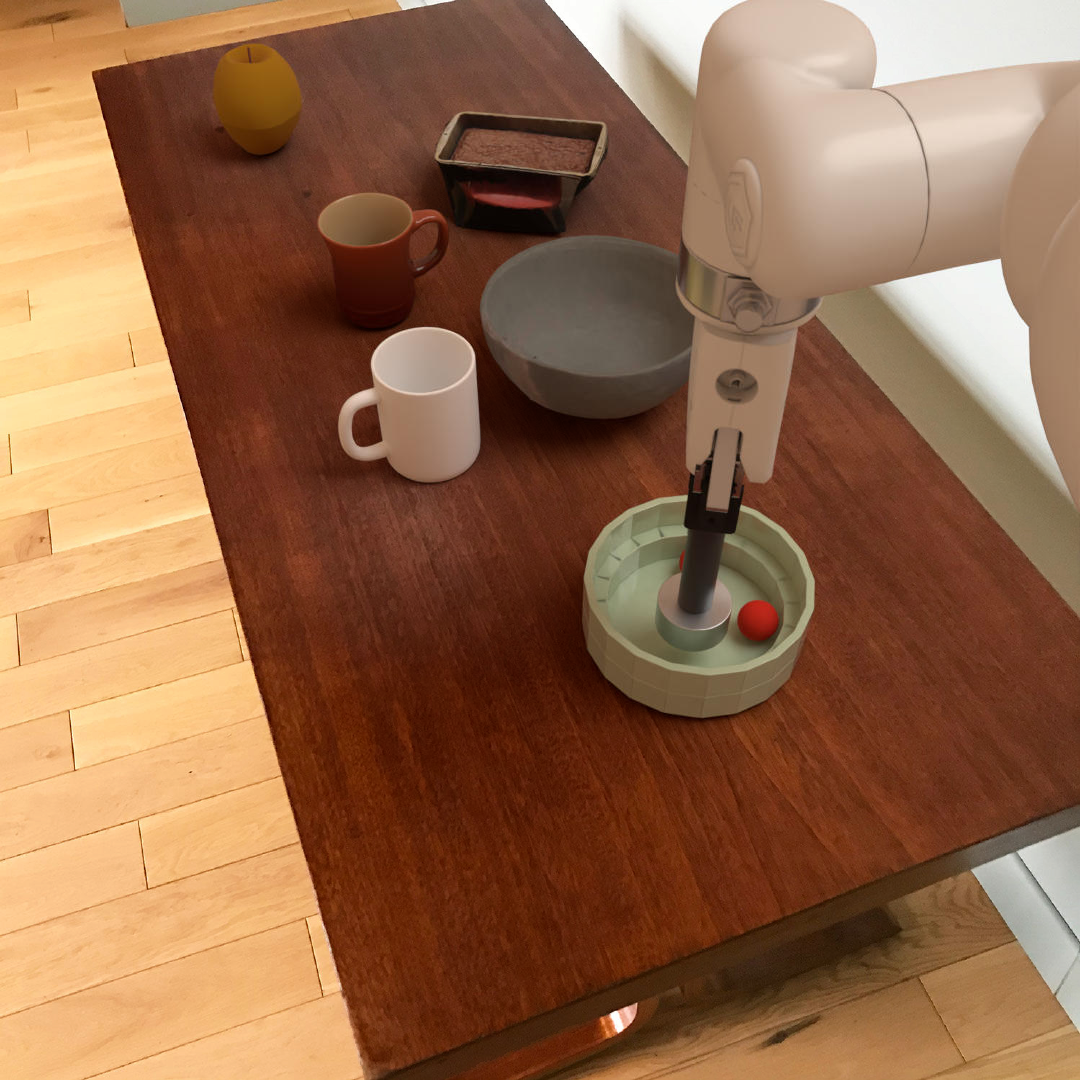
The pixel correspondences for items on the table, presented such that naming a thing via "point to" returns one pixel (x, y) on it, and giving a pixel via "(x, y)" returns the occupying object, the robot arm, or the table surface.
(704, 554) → the dark post
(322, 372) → the table surface
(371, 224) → the mug
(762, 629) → the tomato
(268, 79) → the apple
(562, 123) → the baking dish
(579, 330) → the bowl
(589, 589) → the mixing bowl
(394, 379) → the cup
